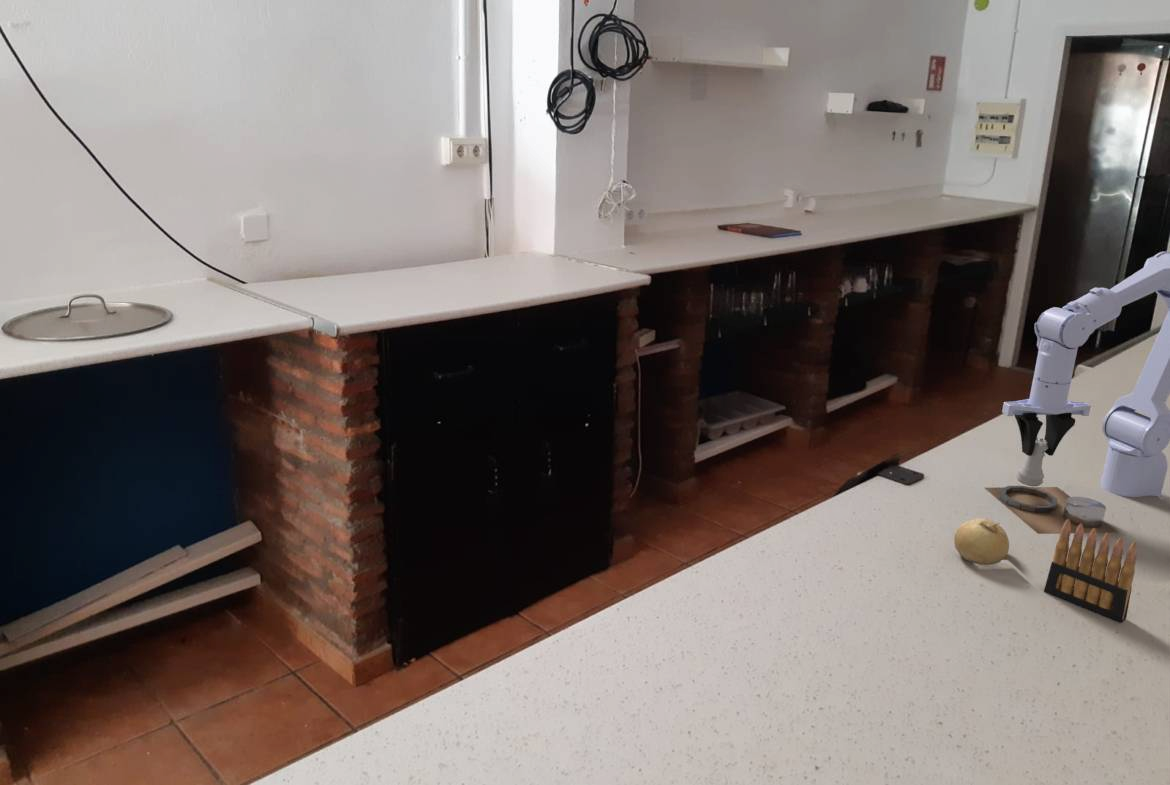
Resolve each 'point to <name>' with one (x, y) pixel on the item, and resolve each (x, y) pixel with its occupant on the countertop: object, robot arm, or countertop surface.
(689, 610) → the countertop surface
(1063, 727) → the countertop surface
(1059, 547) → the ammunition clip
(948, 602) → the countertop surface
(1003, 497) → the socket ring
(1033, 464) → the rook chess piece
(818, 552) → the countertop surface
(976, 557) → the onion
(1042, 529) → the carrier board
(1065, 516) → the silver metal dome
